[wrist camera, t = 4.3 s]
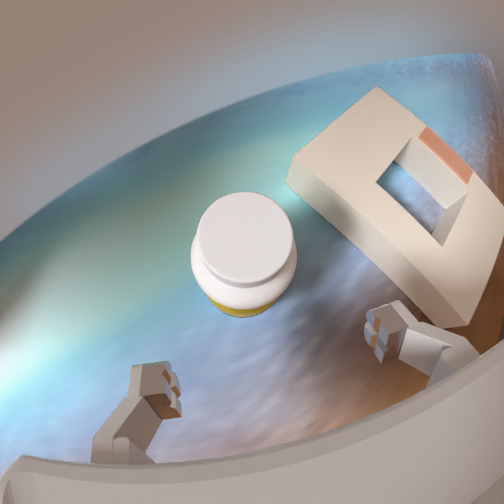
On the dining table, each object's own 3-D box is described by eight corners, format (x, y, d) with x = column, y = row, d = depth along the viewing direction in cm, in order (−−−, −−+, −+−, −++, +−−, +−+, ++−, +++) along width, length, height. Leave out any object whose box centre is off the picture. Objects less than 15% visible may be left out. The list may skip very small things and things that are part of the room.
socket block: (284, 184, 24) (292, 154, 19) (363, 112, 26) (377, 84, 22) (438, 328, 21) (470, 325, 16) (485, 228, 23) (511, 213, 19)
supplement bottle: (292, 299, 21) (333, 268, 12) (223, 330, 20) (207, 325, 11) (261, 233, 22) (274, 161, 13) (194, 261, 22) (160, 205, 12)
